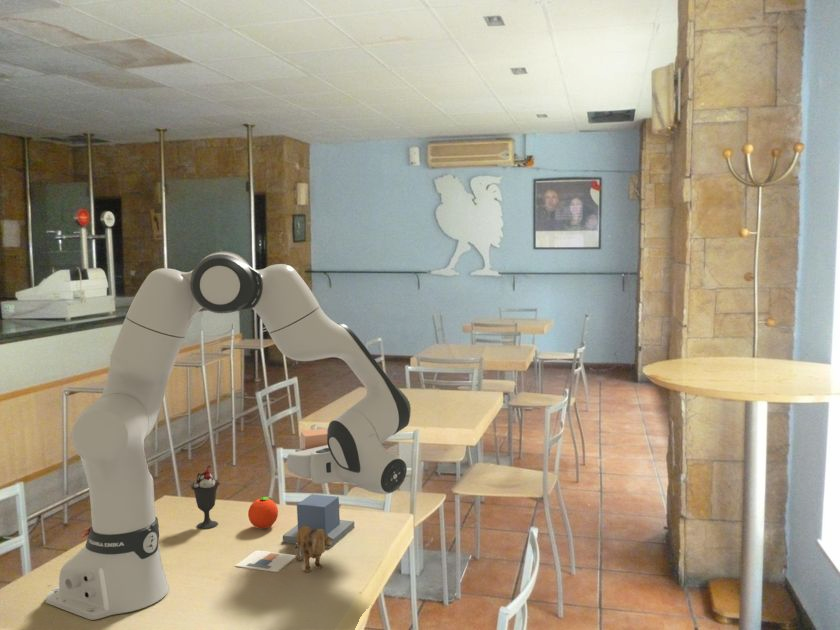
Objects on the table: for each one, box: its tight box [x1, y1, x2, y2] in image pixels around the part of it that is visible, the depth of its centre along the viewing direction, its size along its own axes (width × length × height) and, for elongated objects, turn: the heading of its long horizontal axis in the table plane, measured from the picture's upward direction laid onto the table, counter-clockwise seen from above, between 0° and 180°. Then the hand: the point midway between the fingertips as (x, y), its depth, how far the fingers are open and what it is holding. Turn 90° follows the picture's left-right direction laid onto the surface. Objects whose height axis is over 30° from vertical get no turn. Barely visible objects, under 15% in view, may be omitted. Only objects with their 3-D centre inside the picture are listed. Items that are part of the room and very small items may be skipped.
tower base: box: [282, 493, 355, 548], centre depth 162 cm, size 12×12×8 cm
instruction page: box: [235, 549, 297, 573], centre depth 149 cm, size 10×8×1 cm
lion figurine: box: [294, 526, 333, 573], centre depth 147 cm, size 15×5×9 cm, turn 33°
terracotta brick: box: [300, 428, 328, 450], centre depth 161 cm, size 6×6×9 cm
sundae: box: [190, 464, 221, 530], centre depth 170 cm, size 7×7×15 cm
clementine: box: [247, 496, 279, 529], centre depth 168 cm, size 8×7×7 cm
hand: (313, 448), depth 162 cm, fingers closed on terracotta brick, 7 cm apart
